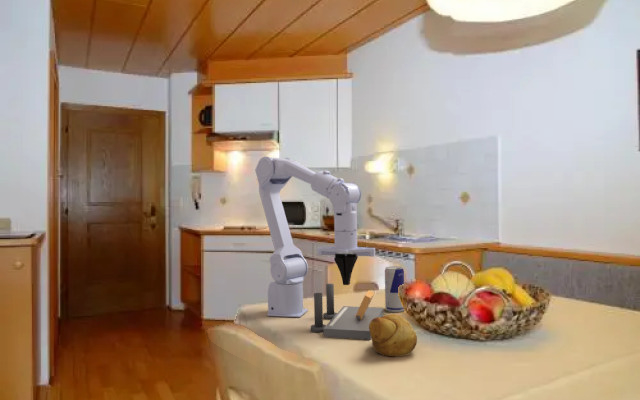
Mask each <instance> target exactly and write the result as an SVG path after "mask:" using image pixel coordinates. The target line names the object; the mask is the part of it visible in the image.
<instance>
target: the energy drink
mask: <svg viewBox="0 0 640 400" xmlns="http://www.w3.org/2000/svg"><path fill="white" fill-rule="evenodd" d="M402 284H404V285H405V269H404V267H402V266H396V265H395V266H391V265H390V266H386V267H385V269H384V293H385V294H384V298H385V301H384V302H385V303H384V305H385V311H387V312H389V313H402V312H404V311H405V310H404V308H403V306H402V304H401V301H400V299H399V296H398V287H399V286H400V285H402Z"/></svg>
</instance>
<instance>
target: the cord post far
mask: <svg viewBox="0 0 640 400" xmlns="http://www.w3.org/2000/svg"><path fill="white" fill-rule="evenodd" d="M334 285H335V284H334V283H326V284H325V287H326V290H325V291H326V292H325V293H326V294H325V295H326V312H323V320H327V319H328V320H329V321H331V320H332V318H333V317H334V316H335V315H336V314H337V313H338V312H335V293H334V292H335V289H334Z"/></svg>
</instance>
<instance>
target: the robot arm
mask: <svg viewBox="0 0 640 400" xmlns="http://www.w3.org/2000/svg"><path fill="white" fill-rule="evenodd" d="M255 174H256V178H257V181H258V192H259V197H260V200H261V204H262V208H263V212H264V214H265V215H264V216H265V220H266V222H267V226H268V231H269V234H270V237H271V241H272V244H273V248H274V251H273V252H272V254H271V255H270V257H269V263H270V268H269V269H270V270H269V271H270V274H271V278H272V280H274V281H270V283H269V284H268V288H267V316H269V317H283V318H284V317H286V318H288V317H289V318H301V317H302V316H304V314H305V313H307V312H308V310H309V309H308V308H304V285H303V284H304V281H305V277H306V276H307V275H308V272H309V265H308V262H307V260H306V259H305V257H304V256H303V251H302V250H301V249H300V248H298V247H297V246H296V245H294V241H293V237H292V233H291V231H290V226H289V223H288V220H287V217H286V213H285V208H284V205H283V203H282V198H281V195H280V193H281V190H282V189H284V187H286V185H287V184H288V182H289V181H290V180H291V179H292V178H293V177H294V178H296V179H298V180H300V181H302V182H304V183H306V184H309V185H310V188H311V190H312V191H313V192H314V193H317V194H319V195H321V196H322V197H324V198H326V199H328V200H329V201H330V203H331V204H332V211H333V218H334V219H333V222H334V225H333V226H334V231H333V232H334V246H319V247H317V249H316V251H317V256H334V258H333V259H334V262H335V264H336V266H337V269H338V271H339V274H340V276H341V280H342V284H343V285H342V286H349V285H350V284H351V277H352V274H353V270H354V268H355V264H356V263H357V260H358V258H359V257H371V258H372V257H375V256H376V248H375V247H364V246H363V247H361V246H358V219H357V218H358V209H357V208H358V203H359V202H360V200H361V199H362V198H361V197H362V191H361V188H360V187H359V186H358V184H356V183H355V182H351V181H350V182H346V181H345V180H344V178H342V177H336V176H334V175H332V174H331V171H329V170H321V171H320V170H319V171H318V172H315V171H313V170H311V169H310V168H308V167H306V166H305V165H303V164H301V163H299V162H298V161H296V160H294V159H291V158H289V157H269V156H261V158H260V159H259V161H258V162H257V165H256V167H255Z"/></svg>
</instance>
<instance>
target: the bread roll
mask: <svg viewBox="0 0 640 400" xmlns="http://www.w3.org/2000/svg"><path fill="white" fill-rule="evenodd" d="M369 330H370V335H371V342H372V347H373V349H374V350H375V351H376V352H377V353H378V354H380V355H383V356H386V357H400V356H407V355H410V354H411V353H412V352H413V351H414V350H415V348H416V346H417V343H418V336H417V333H416V331H415V329H414V328H413V327H412V325H411V323H410V322H409V321H408V320H406V319H405V318H404V317H402V316H401V315H397V314H395V313H393V314H385V315H383V316H382V317H377V318H374V319H373V320H372V321H371V322H370V324H369Z"/></svg>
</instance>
